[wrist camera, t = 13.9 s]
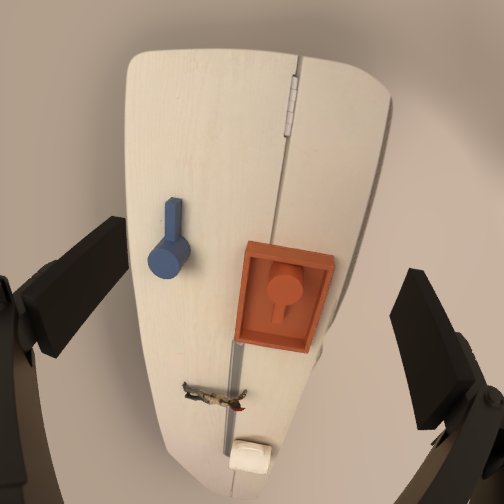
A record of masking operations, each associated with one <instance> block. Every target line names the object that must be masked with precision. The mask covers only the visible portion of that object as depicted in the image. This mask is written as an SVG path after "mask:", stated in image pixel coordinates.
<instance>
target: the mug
mask: <svg viewBox="0 0 504 504" xmlns="http://www.w3.org/2000/svg"><path fill="white" fill-rule="evenodd" d="M270 455H271V446H267V445H262V444H256V443H251V442H246V441H241V440H237V441H236V440H234V442H233V446H232V451H231V456H230V461H229V468H230V469H237V470H244V471H247V472H250V473H259V474H266V473H267V470H268V466H269V461H270Z"/></svg>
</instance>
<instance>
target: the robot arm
mask: <svg viewBox="0 0 504 504" xmlns="http://www.w3.org/2000/svg"><path fill="white" fill-rule="evenodd" d="M128 269H129V266H128V253H127V238H126V220H125V218H121V217H115V216H111V217H110V218H108V219H107V220H106V221H105V222H103V223H102V224H101V225H100V226H98V227H97V228H96V229H94V230H93V231H92V232H91V233H90V234H88V235H87V236H86V237H85V238H83V239H82V240H81V241H80V242H78V243H77V244H76V245H75V246H74V247H73V248H71V249H70V250H69V251H68V252H66V253H65V254H64V255H63V256H62V257H61V258H59V259H58V260H54V261H52V262H50V263H48V264H46V265H44V266H43V267H42V268H41V269H40V270H39V271H38V272H37V273H35V274H34V275H33V276H32V278H30V279H28V280H27V281H26V282H25V283H24V284H23V285H22V286H21V287H20V288H19V289H17V291H15V292H14V293H13V294H12V291H11V288H10V285H9V282H8V279H7V278H6V277H5V276H1V275H0V504H64V501H63V498H62V495H61V492H60V489H59V485H58V482H57V478H56V475H55V471H54V467H53V464H52V460H51V455H50V451H49V447H48V442H47V438H46V433H45V428H44V423H43V417H42V412H41V405H40V398H39V391H38V383H37V375H36V366H35V354H34V351H33V348H32V347H33V345H34V344H35V343H36V342H38V345H39V347H40V350H41V352H42V353H44V354H47V355H49V356H51V357H53V358H57V357H58V356H59V354H60V353H61V352H62V350H63V349H64V348H65V346H66V345H67V344H68V343H69V341H70V340H71V338H72V337H73V336H74V335H75V333H76V332H77V331H78V330H79V328H80V327H81V325H83V323H84V322H85V321H86V319H87V318H88V317H89V316H90V314H91V313H92V312H93V311H94V309H95V308H96V307H97V306H98V305H99V303H100V302H101V301H102V300H103V298H104V297H105V296H106V295H107V294H108V292H109V291H110V290H111V289H112V288H113V286H114V285H115V284H116V283H117V282H118V281H119V279H120V278H121V277H122V276H123V275H124V273H125V272H126V271H127V270H128ZM390 319H391V323H392V326H393V330H394V333H395V336H396V340H397V344H398V347H399V351H400V355H401V359H402V363H403V366H404V370H405V374H406V378H407V383H408V387H409V391H410V396H411V400H412V404H413V409H414V414H415V419H416V423H417V429H418V430H435V429H436V428H437V427H438V425H440V424H441V422H442V421H443V420H444V423H445V427H446V429H445V430H444V431H443V432H442V433H441V434H440V435H439V436H438V437H437V438H436V439H435V440H434V441H433V442H432V443H431V445H432V446H433V445H434V446H433V448H432V449H431V451H430V452H429V454H428V456H427V457H426V459H425V460H424V462H423V463H422V465H421V466H420V468H419V470H418V471H417V472H416V474H415V475H414V477H413V478H412V480H411V481H410V482H409V484H408V485H407V487H406V488H405V490H404V491H403V492H402V493H401V495H400V496H399V498H398V499H397V500H396V501H395V503H394V504H467V503H468V501H469V499H470V501H469V504H504V397H503V395H502V393H501V392H500V391H499V390H498V389H496V388H495V387H492V386H489V385H487V384H486V381H485V379H484V376H483V374H482V372H481V369H480V367H479V365H478V362H477V361H476V360H475V356H474V354H473V353H472V349H471V347H470V345H469V343H468V341H467V340H466V339H465V338H464V337H463V335H462V334H461V333H459V332H455V331H454V329H453V327H452V325H451V323H450V321H449V319H448V317H447V314H446V313H445V310H444V308H443V307H442V305H441V303H440V301H439V299H438V297H437V295H436V293H435V291H434V289H433V287H432V285H431V284H430V282H429V280H428V278H427V276H426V274H425V273H424V271H423V270H418V269H412V268H409V270H408V272H407V275H406V277H405V280H404V282H403V285H402V287H401V290H400V292H399V295H398V297H397V299H396V302H395V304H394V306H393V309H392V311H391V313H390Z"/></svg>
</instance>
